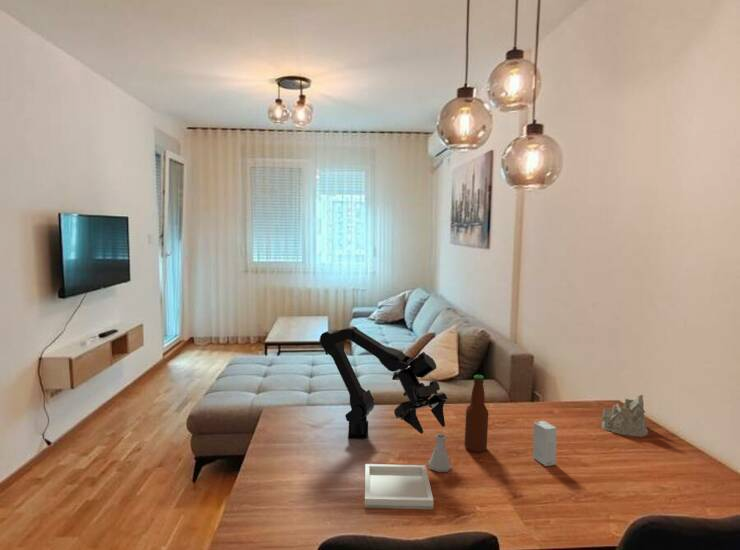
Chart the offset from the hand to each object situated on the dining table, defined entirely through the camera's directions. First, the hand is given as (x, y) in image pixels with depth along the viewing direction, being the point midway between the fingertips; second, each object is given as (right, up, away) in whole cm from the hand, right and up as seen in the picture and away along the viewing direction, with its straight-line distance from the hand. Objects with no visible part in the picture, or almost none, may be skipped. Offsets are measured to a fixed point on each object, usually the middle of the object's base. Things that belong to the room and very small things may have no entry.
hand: (433, 429), depth 146 cm
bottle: (+16, -10, +11) cm, 22 cm away
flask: (+2, -11, -2) cm, 11 cm away
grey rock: (+77, -10, +31) cm, 83 cm away
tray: (-12, -12, -15) cm, 23 cm away
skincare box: (+36, -11, +3) cm, 38 cm away
